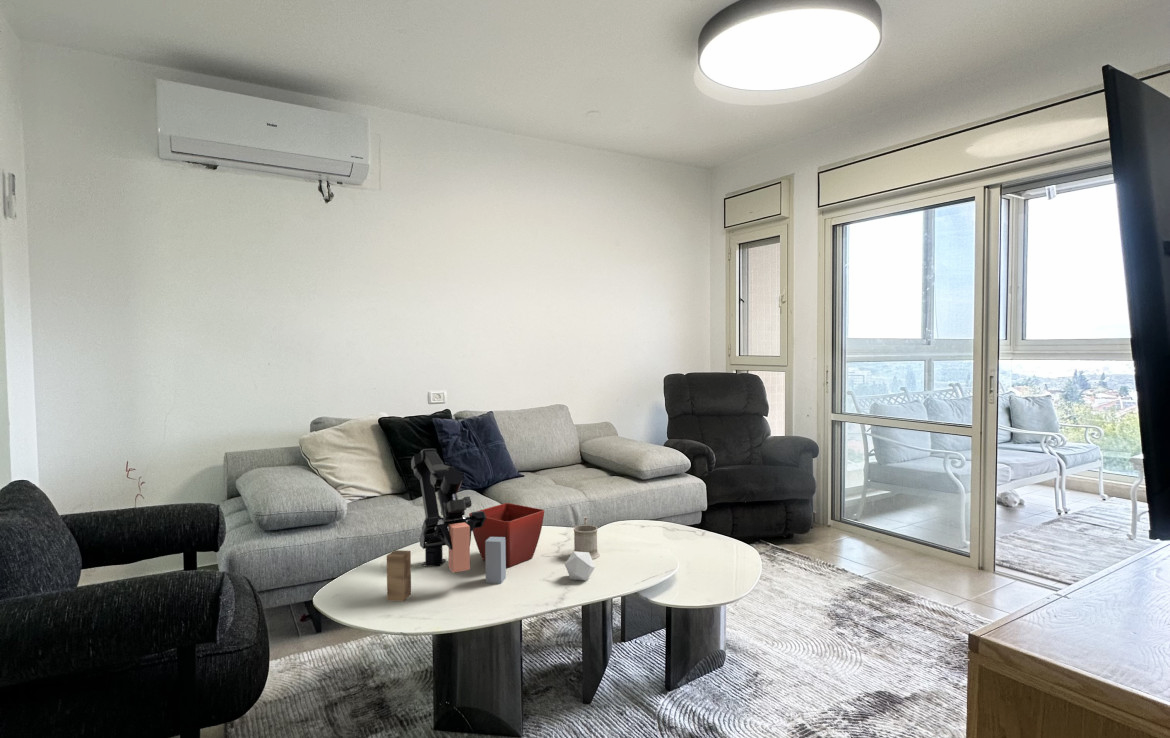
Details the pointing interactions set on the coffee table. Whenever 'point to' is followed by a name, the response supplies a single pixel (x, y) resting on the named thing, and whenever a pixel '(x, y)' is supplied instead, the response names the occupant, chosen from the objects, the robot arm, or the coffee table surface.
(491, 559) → the slate pillar
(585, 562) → the die
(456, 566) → the salmon block
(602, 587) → the coffee table surface
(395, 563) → the walnut pillar
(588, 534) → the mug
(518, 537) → the plant pot
